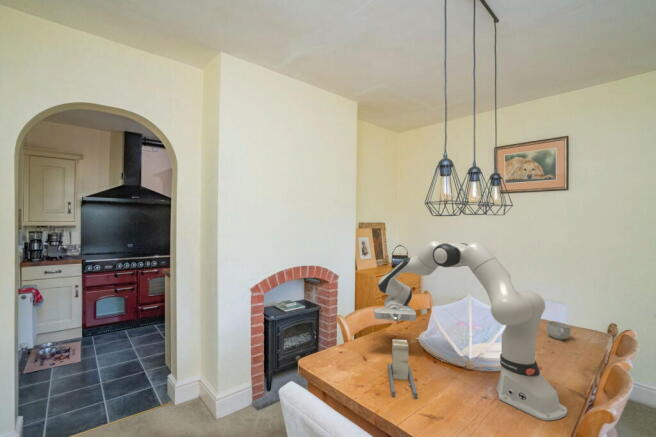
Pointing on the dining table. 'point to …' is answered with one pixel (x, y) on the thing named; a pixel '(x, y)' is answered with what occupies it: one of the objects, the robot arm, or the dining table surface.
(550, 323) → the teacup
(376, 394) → the dining table surface
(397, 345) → the cream block
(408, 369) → the chute
